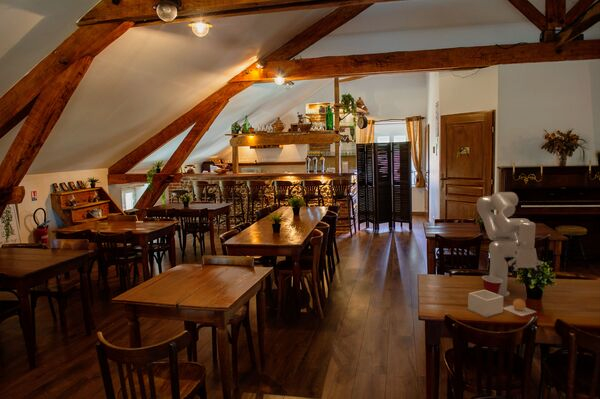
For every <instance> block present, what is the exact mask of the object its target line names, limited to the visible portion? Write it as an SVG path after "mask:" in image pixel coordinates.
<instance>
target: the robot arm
mask: <svg viewBox="0 0 600 399" xmlns="http://www.w3.org/2000/svg"><path fill="white" fill-rule="evenodd" d="M518 203H519V197H518V195H517V193H515V192H513V191H498V192H494V193H493V194H492V195H487V196H481V197H479V198H478V199H477V201H476V209H477V213H478V215H479V216H480V218H481V220H482V222H483V225H484V228H485V231H486V234H487V237H488V239H490V240H491V241H492V242H490V244H489V245H488V249H489V250H488V251H489V260H490V263H489V276H494V277H498V278H500V279H502V280H503V282H502V283H501V285H500V288H499V292H498V295H501V296H503V297H508V296H510V291H508V290H507V289H508V274H509V268H510V269H511V270H512V271H511V276H512V278H514V279H517V277H518V271H517V270H518V269H527V268H528V269H530V268H531V270H530V271H531V272H530V277H532V278H533V279H536V276H537V271H538V269H539V268H540V267H541V265H542V264H543V261H541V260H539V259H538V255H537V249H536V248H535V242H536V241H535V239H536V223H535V222H533V221H530V220H529V219H528V218H524V217H523V218H521V217H519V218H509V217H511V216H513V215H514V214H515V212H516V206H517V205H518ZM492 211H497V212H498V213H497V214H495V213H494V212H492ZM505 258H511V259H510V260H508V261H507V260H506V259H505Z"/></svg>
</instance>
